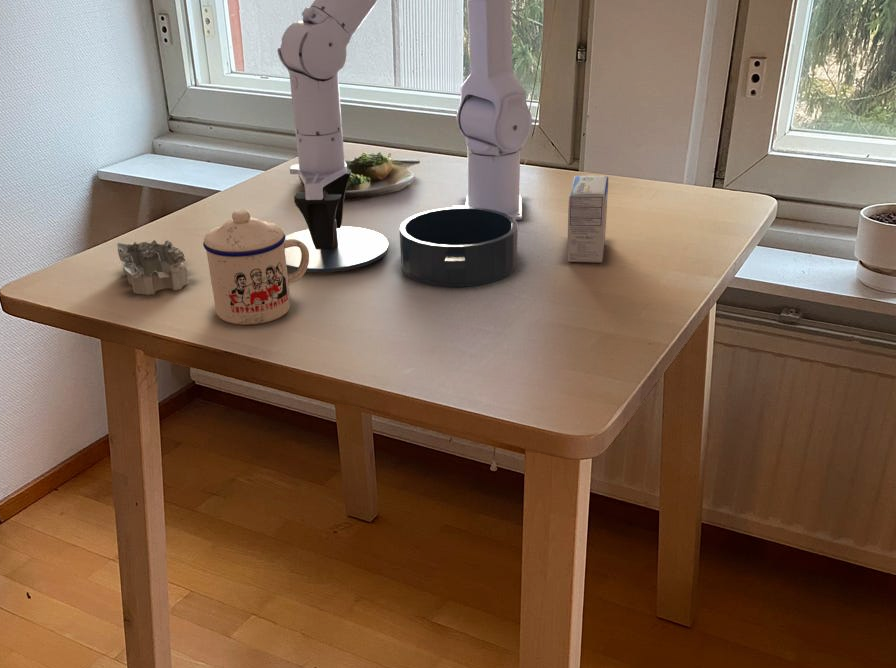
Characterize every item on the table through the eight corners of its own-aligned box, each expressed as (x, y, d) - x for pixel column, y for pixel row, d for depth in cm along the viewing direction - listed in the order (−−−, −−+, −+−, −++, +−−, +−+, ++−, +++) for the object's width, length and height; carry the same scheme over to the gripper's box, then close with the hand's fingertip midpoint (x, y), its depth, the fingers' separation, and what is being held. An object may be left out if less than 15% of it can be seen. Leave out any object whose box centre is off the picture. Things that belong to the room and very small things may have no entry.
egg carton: (192, 289, 123) (187, 257, 121) (130, 299, 121) (123, 267, 119) (179, 259, 131) (173, 229, 129) (120, 269, 129) (114, 238, 127)
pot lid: (259, 277, 125) (254, 242, 123) (282, 234, 138) (279, 202, 135) (382, 276, 124) (380, 241, 121) (394, 233, 137) (392, 200, 134)
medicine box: (602, 264, 124) (606, 194, 120) (565, 262, 125) (568, 193, 120) (605, 241, 131) (609, 175, 126) (570, 240, 132) (573, 174, 127)
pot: (394, 296, 118) (392, 255, 116) (408, 237, 135) (407, 201, 132) (517, 295, 117) (517, 254, 114) (516, 236, 134) (517, 199, 131)
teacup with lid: (231, 333, 111) (215, 231, 105) (203, 306, 118) (187, 209, 112) (328, 308, 116) (319, 209, 110) (296, 283, 123) (286, 189, 117)
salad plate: (403, 159, 166) (402, 130, 164) (442, 188, 152) (441, 158, 150) (289, 175, 161) (286, 146, 159) (318, 207, 147) (315, 176, 144)
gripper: (296, 115, 129) (307, 219, 136) (274, 146, 117) (287, 258, 124) (351, 114, 128) (359, 218, 135) (334, 145, 116) (344, 258, 123)
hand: (328, 237), depth 130 cm, fingers open, 7 cm apart
